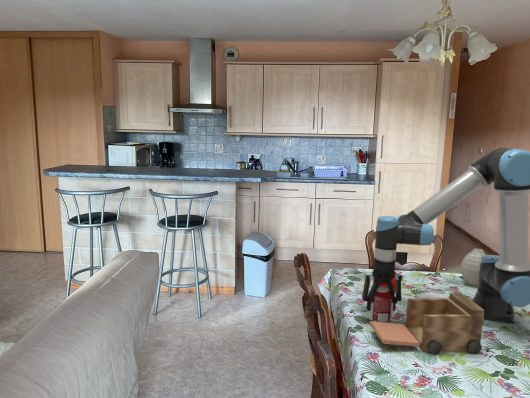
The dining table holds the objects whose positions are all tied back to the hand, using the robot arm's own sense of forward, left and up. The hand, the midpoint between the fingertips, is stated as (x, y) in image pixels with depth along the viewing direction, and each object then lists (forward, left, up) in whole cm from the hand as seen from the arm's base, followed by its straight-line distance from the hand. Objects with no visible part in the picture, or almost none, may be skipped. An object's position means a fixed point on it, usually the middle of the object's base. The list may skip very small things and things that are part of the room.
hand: (380, 318), depth 154 cm
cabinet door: (-10, +13, +1) cm, 16 cm away
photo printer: (-17, +1, -1) cm, 17 cm away
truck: (-20, +9, -1) cm, 22 cm away
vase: (-42, -54, -1) cm, 68 cm away
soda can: (0, 0, -1) cm, 1 cm away
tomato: (-2, -33, -1) cm, 33 cm away
